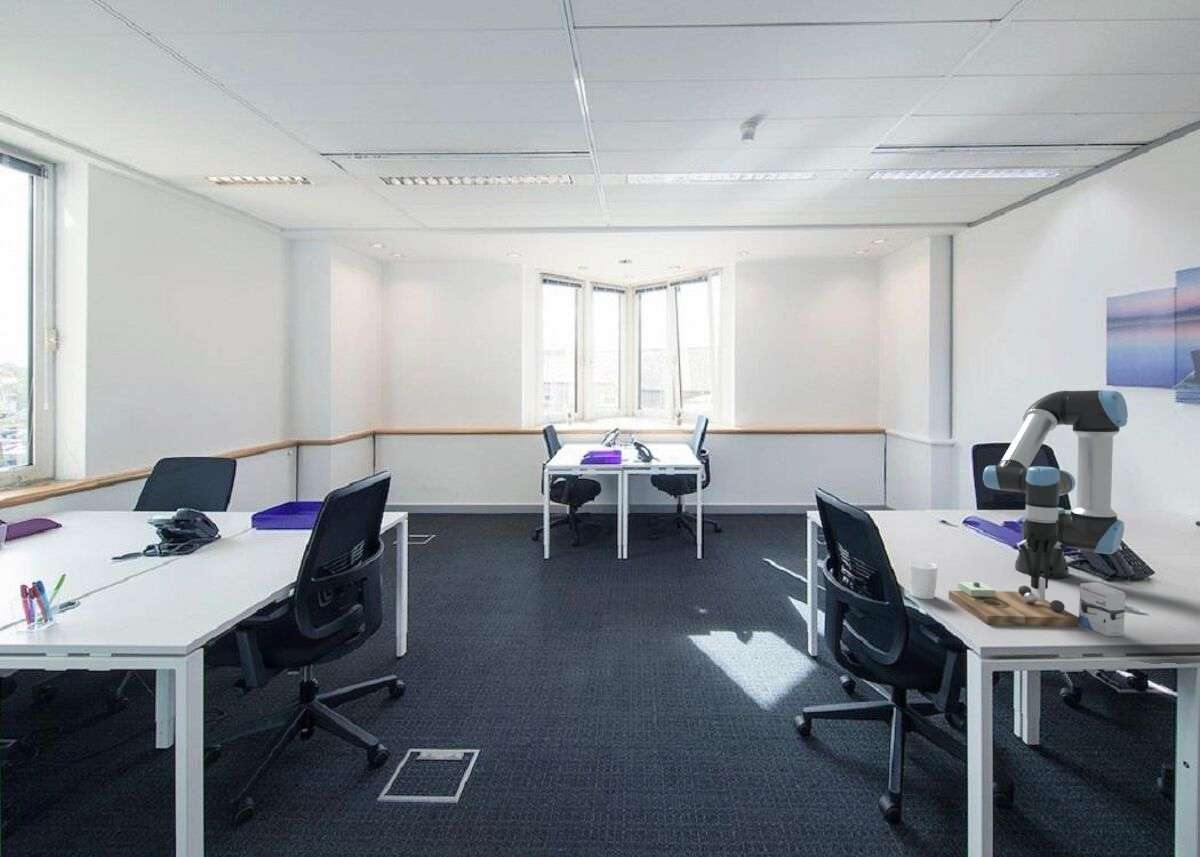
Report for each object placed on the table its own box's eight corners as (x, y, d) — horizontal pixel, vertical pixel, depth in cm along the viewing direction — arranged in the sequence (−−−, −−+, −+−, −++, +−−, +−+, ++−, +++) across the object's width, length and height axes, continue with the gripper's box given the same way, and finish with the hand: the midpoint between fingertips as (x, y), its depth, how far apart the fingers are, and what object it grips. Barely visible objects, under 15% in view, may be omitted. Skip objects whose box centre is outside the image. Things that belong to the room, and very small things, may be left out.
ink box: (1077, 623, 155) (1078, 582, 154) (1093, 622, 155) (1095, 581, 155) (1107, 637, 147) (1109, 593, 146) (1124, 636, 147) (1126, 592, 146)
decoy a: (1026, 594, 171) (1027, 584, 171) (1034, 598, 168) (1034, 587, 167) (1015, 594, 171) (1016, 584, 171) (1022, 598, 168) (1023, 587, 168)
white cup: (926, 602, 173) (927, 570, 172) (902, 594, 180) (903, 563, 179) (942, 597, 176) (942, 566, 176) (918, 589, 183) (918, 560, 183)
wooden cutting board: (1029, 599, 173) (1029, 591, 173) (1079, 626, 153) (1079, 617, 153) (948, 598, 175) (948, 590, 175) (987, 624, 155) (987, 615, 155)
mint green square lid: (981, 588, 176) (981, 579, 175) (995, 596, 169) (995, 586, 168) (958, 588, 176) (958, 579, 176) (970, 596, 169) (971, 586, 169)
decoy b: (1059, 609, 159) (1059, 598, 159) (1067, 613, 156) (1067, 602, 155) (1047, 609, 159) (1047, 598, 159) (1055, 613, 156) (1055, 602, 156)
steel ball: (1034, 595, 165) (1026, 588, 165) (1042, 599, 162) (1033, 592, 162) (1026, 603, 165) (1018, 596, 165) (1034, 607, 162) (1025, 600, 162)
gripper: (1055, 517, 165) (1052, 595, 166) (1009, 517, 166) (1007, 594, 167) (1075, 522, 158) (1072, 604, 159) (1026, 522, 159) (1024, 603, 160)
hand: (1038, 599), depth 163 cm, fingers closed
